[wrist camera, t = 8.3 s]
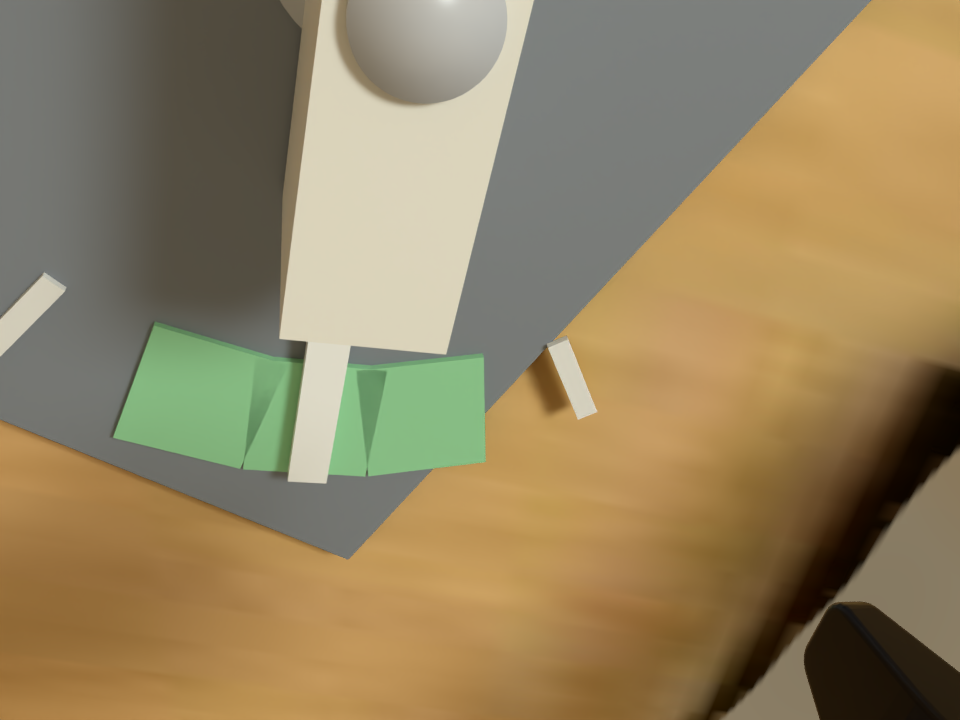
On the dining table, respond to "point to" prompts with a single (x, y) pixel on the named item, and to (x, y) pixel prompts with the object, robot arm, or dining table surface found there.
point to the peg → (385, 184)
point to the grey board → (258, 231)
